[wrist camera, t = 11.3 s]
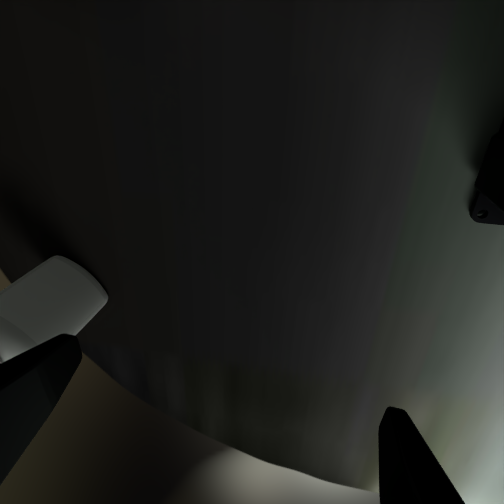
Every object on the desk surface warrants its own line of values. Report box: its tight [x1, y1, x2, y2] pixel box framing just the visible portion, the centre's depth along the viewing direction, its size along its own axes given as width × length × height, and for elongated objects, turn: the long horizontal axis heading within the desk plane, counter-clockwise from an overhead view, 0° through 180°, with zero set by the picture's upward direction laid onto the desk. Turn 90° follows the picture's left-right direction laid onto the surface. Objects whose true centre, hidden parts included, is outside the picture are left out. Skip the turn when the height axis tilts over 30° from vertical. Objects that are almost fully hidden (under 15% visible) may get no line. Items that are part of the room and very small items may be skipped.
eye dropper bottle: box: [0, 255, 108, 364], centre depth 22 cm, size 4×6×12 cm
